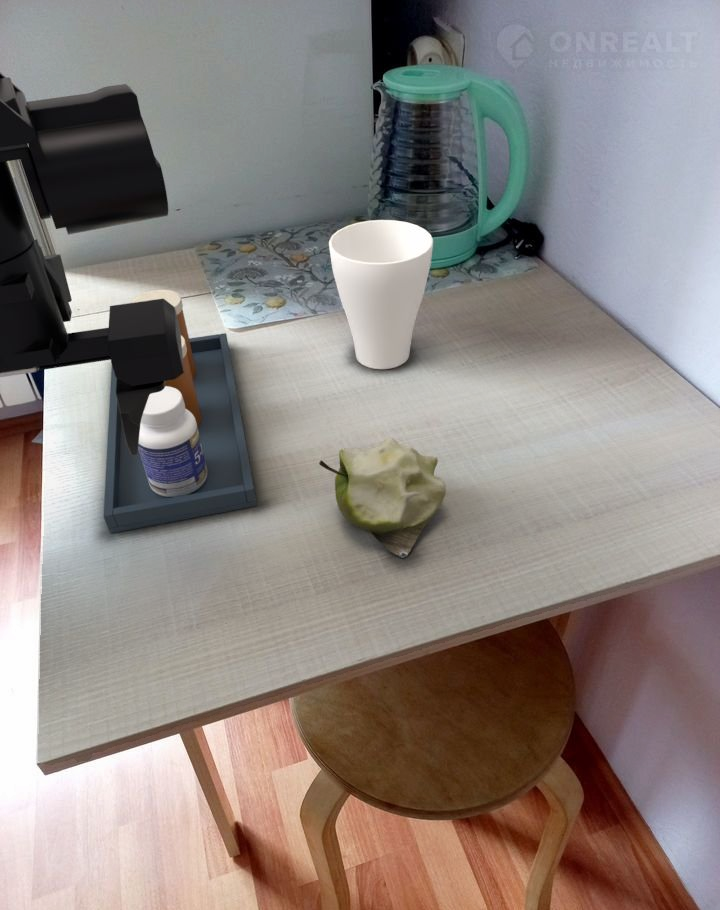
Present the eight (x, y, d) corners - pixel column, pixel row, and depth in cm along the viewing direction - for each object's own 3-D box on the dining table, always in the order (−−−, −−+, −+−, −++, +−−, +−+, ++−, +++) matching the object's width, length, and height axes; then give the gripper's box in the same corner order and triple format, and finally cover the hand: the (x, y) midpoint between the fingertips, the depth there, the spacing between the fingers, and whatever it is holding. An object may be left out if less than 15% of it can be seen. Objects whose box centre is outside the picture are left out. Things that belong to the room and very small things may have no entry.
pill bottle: (214, 488, 63) (196, 409, 57) (155, 506, 61) (130, 426, 56) (200, 453, 67) (182, 375, 61) (145, 469, 65) (120, 390, 59)
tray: (109, 533, 60) (103, 516, 59) (117, 365, 80) (112, 349, 78) (257, 506, 62) (254, 488, 61) (228, 348, 82) (226, 332, 80)
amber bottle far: (151, 392, 74) (130, 316, 69) (150, 366, 78) (130, 293, 72) (198, 384, 75) (182, 309, 69) (196, 359, 79) (180, 286, 73)
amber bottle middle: (152, 442, 68) (129, 363, 62) (151, 411, 72) (129, 335, 66) (204, 433, 69) (186, 355, 63) (200, 403, 73) (183, 327, 67)
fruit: (321, 548, 60) (302, 469, 56) (371, 487, 66) (357, 412, 62) (420, 570, 55) (407, 486, 51) (463, 502, 62) (455, 423, 58)
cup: (380, 393, 74) (378, 275, 65) (317, 355, 80) (307, 241, 71) (448, 354, 79) (455, 239, 70) (383, 321, 85) (382, 211, 76)
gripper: (151, 178, 46) (196, 377, 56) (-160, 213, 43) (-54, 416, 53) (154, 249, 38) (205, 467, 48) (-232, 299, 35) (-89, 519, 45)
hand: (66, 462), depth 49 cm, fingers open, 9 cm apart
